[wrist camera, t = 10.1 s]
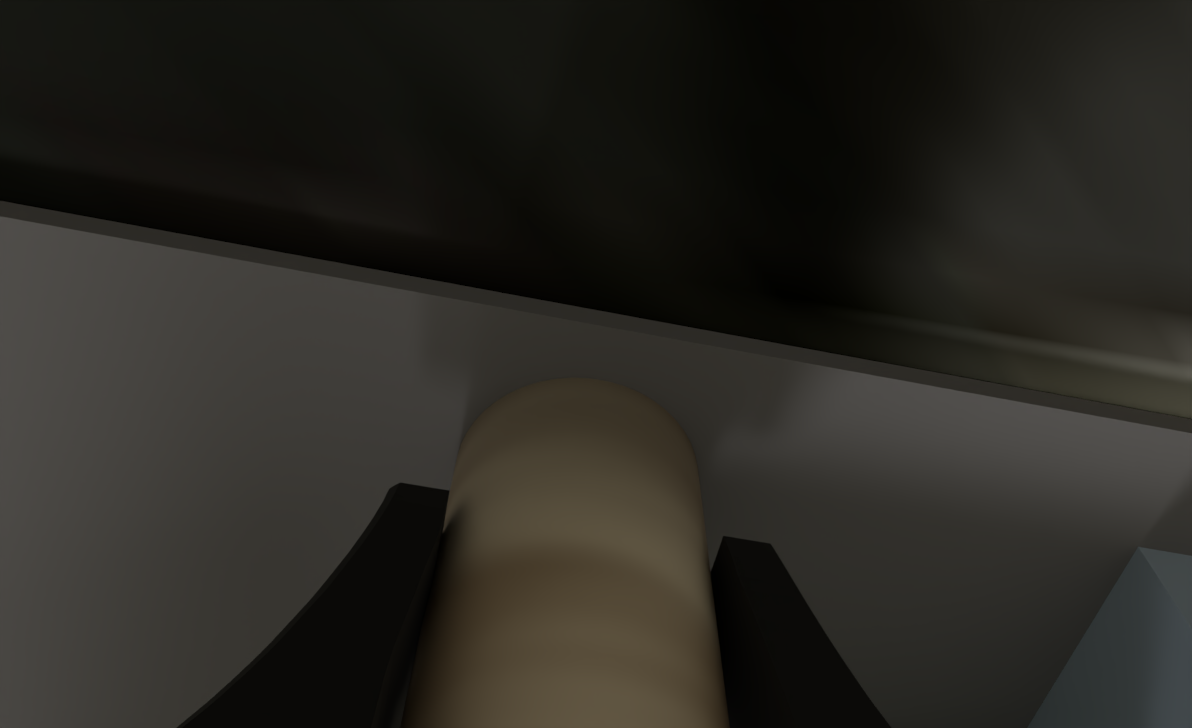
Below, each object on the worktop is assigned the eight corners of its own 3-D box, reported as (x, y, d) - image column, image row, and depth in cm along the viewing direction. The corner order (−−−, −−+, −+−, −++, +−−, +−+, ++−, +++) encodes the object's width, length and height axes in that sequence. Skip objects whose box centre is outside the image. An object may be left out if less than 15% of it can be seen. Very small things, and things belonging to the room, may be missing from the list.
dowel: (660, 591, 16) (693, 1117, 10) (436, 547, 15) (326, 1068, 9) (729, 408, 14) (820, 906, 8) (480, 353, 14) (379, 835, 8)
